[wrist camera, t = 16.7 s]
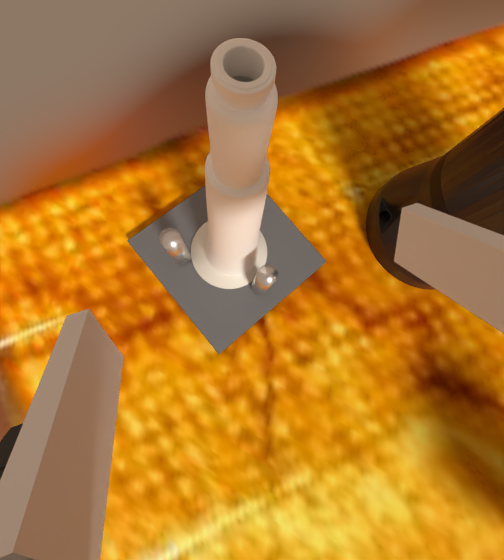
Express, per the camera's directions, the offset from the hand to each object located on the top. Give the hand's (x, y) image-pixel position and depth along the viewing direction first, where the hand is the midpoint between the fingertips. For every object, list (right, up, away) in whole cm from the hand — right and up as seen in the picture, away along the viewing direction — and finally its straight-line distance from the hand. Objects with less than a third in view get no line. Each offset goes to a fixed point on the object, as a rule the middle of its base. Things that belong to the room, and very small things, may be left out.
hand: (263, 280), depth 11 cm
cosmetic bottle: (-3, +3, +19) cm, 20 cm away
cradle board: (-3, +3, +20) cm, 21 cm away
